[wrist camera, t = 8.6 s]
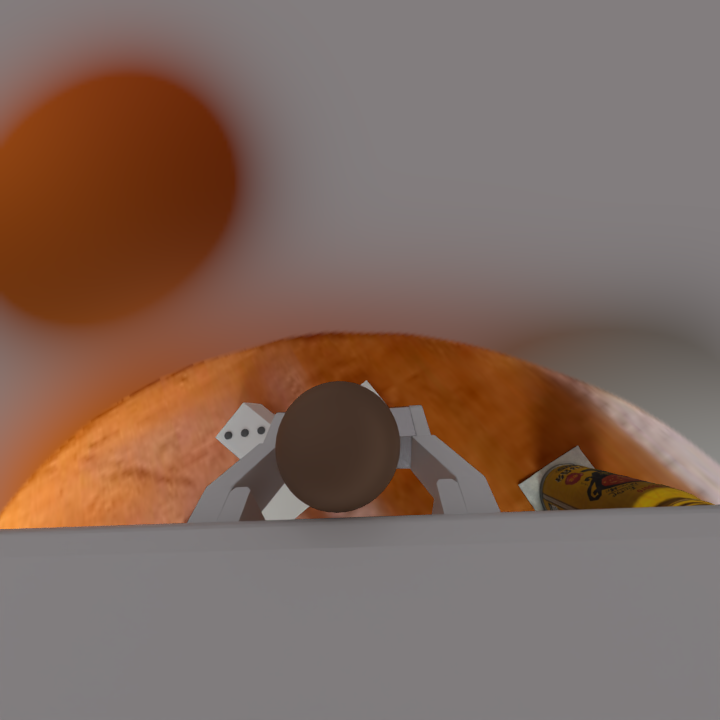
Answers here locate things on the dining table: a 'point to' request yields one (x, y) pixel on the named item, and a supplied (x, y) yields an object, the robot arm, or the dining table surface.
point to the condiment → (596, 488)
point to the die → (246, 428)
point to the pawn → (337, 446)
